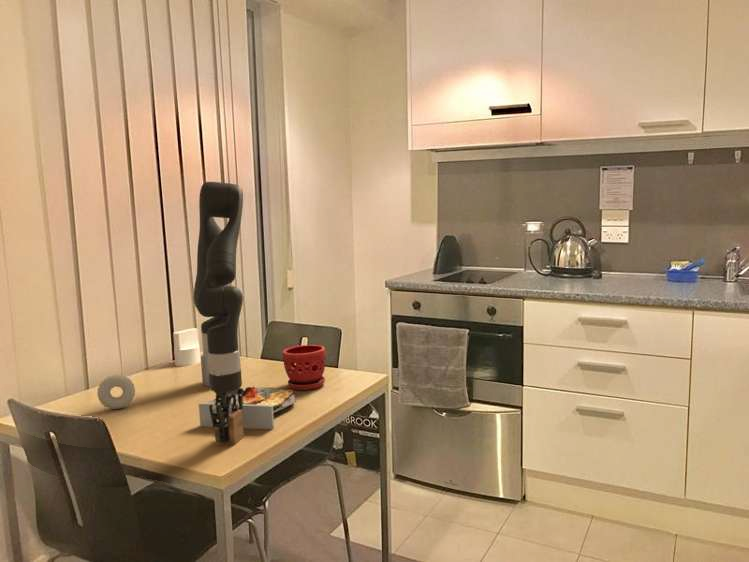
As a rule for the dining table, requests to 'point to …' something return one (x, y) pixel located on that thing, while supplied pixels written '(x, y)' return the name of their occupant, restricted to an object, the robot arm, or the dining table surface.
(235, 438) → the walnut block
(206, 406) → the grey divider panel
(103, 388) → the donut
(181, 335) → the base with upright slab
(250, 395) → the food plate
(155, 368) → the dining table surface
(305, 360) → the plant pot
